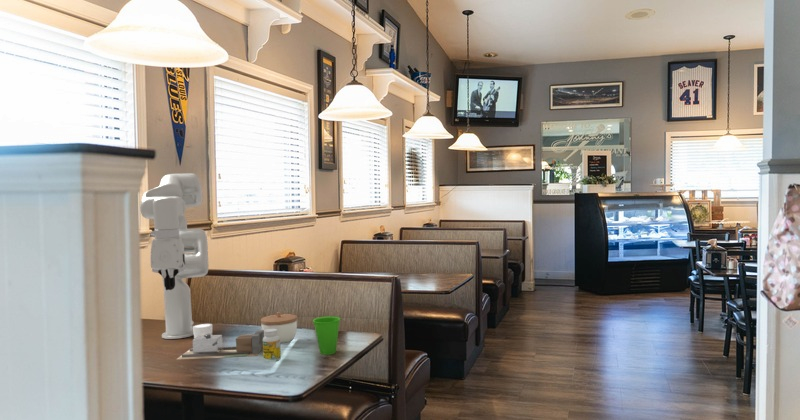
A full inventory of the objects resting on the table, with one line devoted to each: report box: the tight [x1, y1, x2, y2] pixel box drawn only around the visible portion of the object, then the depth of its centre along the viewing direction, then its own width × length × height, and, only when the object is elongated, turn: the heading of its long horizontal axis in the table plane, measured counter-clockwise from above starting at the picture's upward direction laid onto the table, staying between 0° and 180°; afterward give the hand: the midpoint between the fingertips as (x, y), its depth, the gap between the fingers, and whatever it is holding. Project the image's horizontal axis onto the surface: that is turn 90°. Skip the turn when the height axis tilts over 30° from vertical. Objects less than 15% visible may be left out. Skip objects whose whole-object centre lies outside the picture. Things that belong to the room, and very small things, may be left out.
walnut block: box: [235, 333, 254, 353], centre depth 184 cm, size 5×5×5 cm
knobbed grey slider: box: [192, 334, 224, 354], centre depth 183 cm, size 7×8×6 cm
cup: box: [312, 315, 341, 356], centre depth 183 cm, size 9×9×11 cm
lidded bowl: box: [260, 311, 298, 344], centre depth 198 cm, size 13×13×11 cm
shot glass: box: [192, 323, 213, 339], centre depth 200 cm, size 7×7×7 cm
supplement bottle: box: [262, 329, 282, 362], centre depth 177 cm, size 5×5×10 cm
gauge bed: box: [176, 329, 264, 360], centre depth 184 cm, size 12×26×7 cm, turn 90°
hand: (170, 289), depth 186 cm, fingers closed
